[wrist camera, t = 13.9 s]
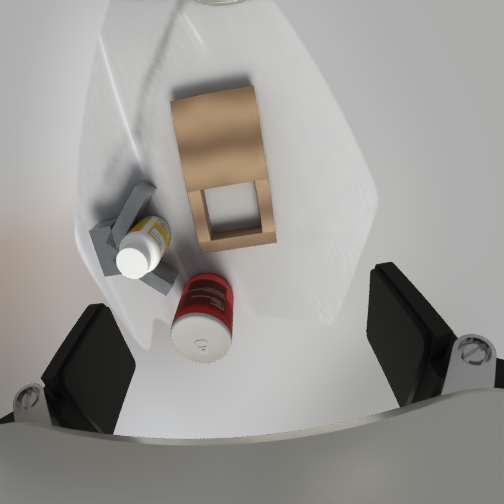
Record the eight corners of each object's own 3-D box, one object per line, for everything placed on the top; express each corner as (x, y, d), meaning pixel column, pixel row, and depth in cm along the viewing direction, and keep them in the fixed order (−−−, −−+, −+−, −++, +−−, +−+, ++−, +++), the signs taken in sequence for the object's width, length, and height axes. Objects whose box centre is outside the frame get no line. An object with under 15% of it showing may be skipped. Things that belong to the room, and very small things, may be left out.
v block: (154, 178, 37) (145, 184, 34) (180, 280, 44) (175, 294, 40) (93, 193, 38) (80, 201, 34) (123, 288, 44) (114, 301, 40)
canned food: (201, 322, 47) (192, 370, 37) (173, 284, 44) (156, 329, 34) (243, 304, 46) (243, 352, 36) (217, 262, 43) (209, 306, 33)
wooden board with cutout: (174, 103, 33) (170, 101, 31) (252, 88, 33) (253, 85, 31) (203, 246, 41) (201, 253, 39) (274, 235, 41) (276, 242, 39)
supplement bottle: (133, 245, 41) (108, 277, 32) (139, 210, 39) (112, 236, 30) (167, 255, 42) (149, 290, 33) (175, 221, 40) (157, 249, 31)
